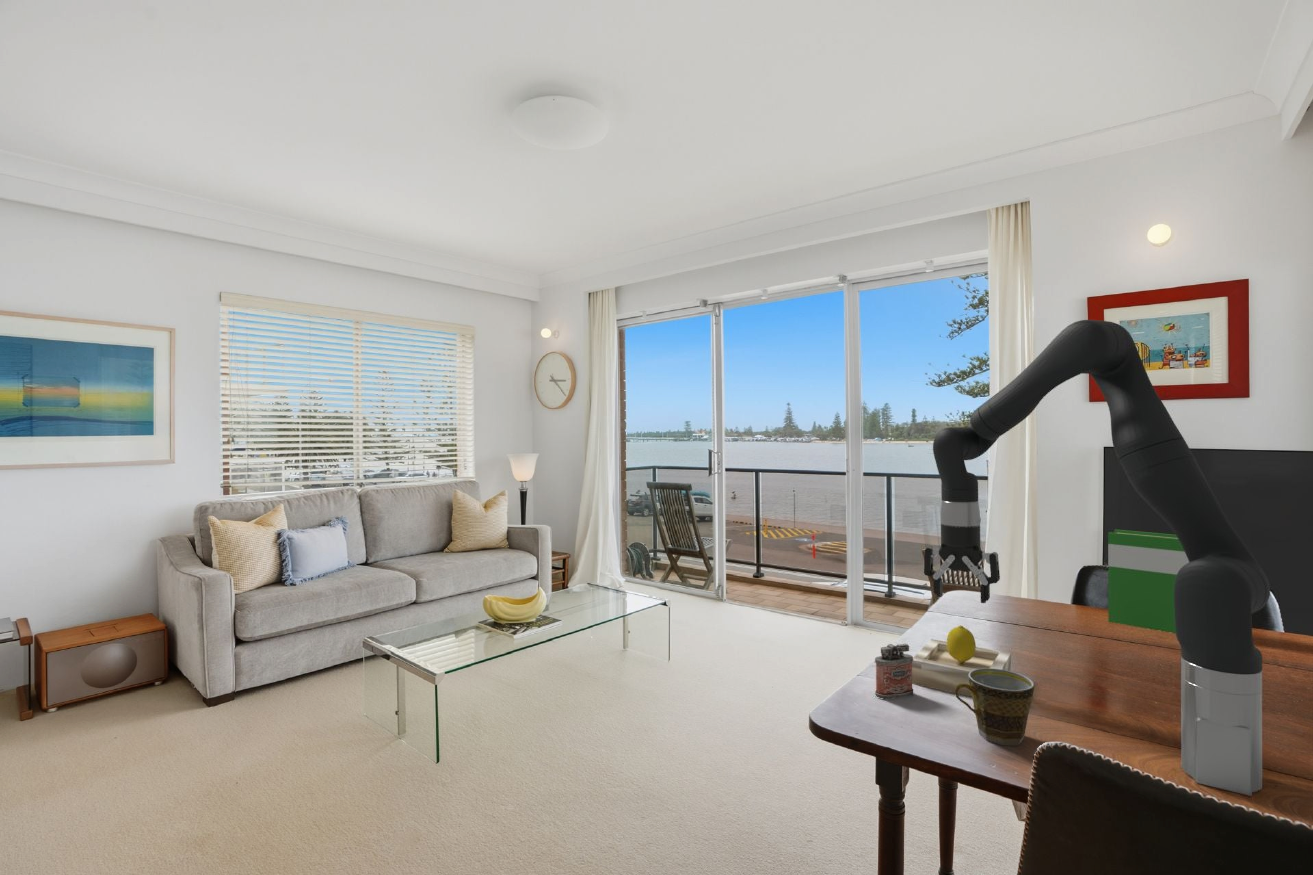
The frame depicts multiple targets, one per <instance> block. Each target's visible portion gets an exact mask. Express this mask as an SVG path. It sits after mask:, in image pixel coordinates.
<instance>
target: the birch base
mask: <svg viewBox="0 0 1313 875" xmlns="http://www.w3.org/2000/svg"><path fill="white" fill-rule="evenodd" d="M976 669H1001V670H1007V671H1011V672H1012V653H1011V652H1006V651H1002V650H1000V651H999V650H995V649H990V648H983V647H979V646H976V650H975V654H974V656H973V657H972V658H971V659H970V660H968V661H965V662H964V663H963V664H961V663H959V662H958V661H957V660H956V659H954V658H953V657H952V656H951V655H950V654H949V652H948V649H947V641H945V640H944V641H943V640H939V639H933V638H931V639H930V640H929V641H928V642H927V643H926V644H925V645H924V646H923V647H922V649H920V650H919V651H918V652H917V653H916V654H915V655H914V656H913V662H912V685H918V686H923V687H927V688H930V689H935V688H936V689H935V690H940V691H944V692H945V691H946V692H950V693H954V694H955V688H956V686H957V685H958V684H960V683H966V684H968V685H970V684H969V677H968V675H969V673H970V672H971V671H973V670H976ZM958 695H963V696H967V697H971V698H972V694H971V692H970V690H969V689H968V688H965V687H963V688H960V689H959V690H958Z"/></svg>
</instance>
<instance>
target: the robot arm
mask: <svg viewBox="0 0 1313 875" xmlns="http://www.w3.org/2000/svg"><path fill="white" fill-rule="evenodd" d="M1082 374H1086V375H1087V374H1089V375H1090V376H1091V378H1092V379H1093V380H1094V382H1095V384H1097V386H1098V388H1099V390H1100V392H1101V393H1102V395H1103V397H1104V399H1105V402H1106V403H1107V406H1108V410H1109V411H1108V412H1109V418H1110V430H1111V440H1112V445H1113V450H1114V452H1115V455H1116V457H1117V459H1118V461H1119V463H1120V465H1121V467H1122V469H1123V471H1124V473H1125V475H1126V477H1127V479H1128V481H1129V482H1130V484H1131V485H1132V487H1133V489H1134V490H1135V491H1136V493H1137V494H1138V495H1139V496H1140V497H1141V498H1142V499H1143V500H1144V501H1145V502H1146V504H1147V505H1149V507H1150V508H1152V510H1153V511H1154V512H1156V514H1157V515H1158V516H1160V517H1161V519H1162V520H1163V521H1164V522H1165V523H1166V524H1167V525H1168V526H1169V528H1170V529H1171V530H1172V532H1173V533H1174V535H1176V536H1177V538H1178V540H1179V541H1180V543H1181V545H1182V547H1183V549H1184V551H1185V553H1186V556H1187V558H1188V560H1189V563H1187V564H1186V565H1184V566H1183V567H1182V568H1181V569H1180V570H1179V572H1178V573H1177V576H1176V578H1175V583H1174V614H1175V631H1176V634H1175V636H1176V639H1177V642H1178V643H1179V645H1180V652H1181V653H1180V661H1181V662H1180V667H1181V668H1180V669H1181V671H1180V672H1181V673H1180V687H1181V688H1180V709H1181V710H1180V711H1181V713H1180V729H1181V730H1180V736H1181V737H1180V742H1181V744H1180V746H1181V748H1180V749H1181V750H1180V752H1181V753H1180V754H1181V763H1180V764H1181V769H1182V770H1183V771H1184V772H1185V774H1187V775H1189V777H1192V779H1194V781H1195V783H1197V784H1200V785H1205V786H1208V787H1211V788H1212V787H1213V788H1216V789H1220V790H1224V791H1229V792H1233V793H1237V794H1241V795H1245V796H1249V797H1251V796H1253V793H1256V792H1259V791H1260V790H1262V788H1263V655H1262V652H1261V650H1260V649H1259V648H1258V647H1257V646H1255V644H1254V640H1253V620H1252V619H1253V618H1252V617H1253V616H1252V614H1254V613H1256V612H1259V611H1260V610H1261V609H1263V608H1264V607H1265V606H1266V604H1267V603H1268V601H1269V599H1270V596H1271V588H1270V587H1271V586H1270V582H1269V579H1268V577H1267V575H1266V573H1265V571H1264V570H1263V568H1262V567H1261V565H1260V564H1259V563H1258V561H1257V560H1256V559H1255V557H1254V555H1253V554H1252V553H1251V552H1250V550H1249V549H1248V547H1247V546H1246V545H1245V543H1244V542H1243V540H1242V539H1241V538H1240V536H1239V535H1238V533H1237V532H1236V530H1234V528H1233V526H1232V524H1231V523H1230V522H1229V521H1228V519H1227V517H1226V515H1225V513H1224V511H1223V510H1222V507H1221V506H1220V504H1219V501H1218V498H1216V496H1215V494H1214V492H1213V490H1212V487H1211V486H1210V485H1209V483H1208V480H1207V479H1206V477H1205V475H1204V473H1203V472H1202V470H1201V468H1200V466H1199V464H1198V462H1197V460H1196V458H1195V456H1194V454H1193V453H1192V450H1191V449H1190V447H1189V444H1188V443H1187V441H1186V439H1185V438H1184V436H1183V435H1182V433H1181V432H1180V430H1179V428H1178V427H1177V425H1176V424H1175V422H1174V420H1173V418H1172V417H1171V415H1170V413H1169V412H1168V409H1167V408H1166V406H1165V404H1164V402H1163V401H1162V399H1161V398H1160V396H1159V394H1158V393H1157V391H1156V390H1155V388H1154V386H1153V383H1152V381H1151V380H1150V378H1149V376H1148V373H1147V370H1146V368H1145V365H1144V362H1143V360H1142V358H1141V355H1140V353H1139V350H1138V348H1137V345H1136V343H1135V341H1134V338H1133V337H1132V335H1131V334H1130V332H1129V331H1128V330H1127V329H1126V328H1125V327H1124V326H1122V325H1120V324H1119V323H1117V322H1113V321H1107V320H1099V319H1098V320H1097V319H1081V320H1077V321H1074V322H1073V323H1070V324H1068V325H1067V326H1066V327H1065V328H1063V330H1061V331H1060V332H1059V333H1058V334H1057V335H1056V336H1055V338H1053V339H1052V340H1051V341H1050V342H1049V344H1047V346H1046V347H1045V348H1044V349H1043V350H1042V351H1041V353H1039V354H1038V356H1037V357H1035V358H1034V360H1033V361H1032V362H1030V363H1029V365H1027V366H1026V368H1024V369H1023V371H1021V372H1020V373H1019V374H1018V375H1017V376H1016V377H1015V378H1014V379H1013V380H1012V381H1010V382H1009V383H1008V384H1007V385H1005V387H1003V388H1002V389H1001V390H999V391H998V392H996V393H995V394H994V395H993V396H991V397H990V398H989V399H987V400H985V402H983V403H982V404H981V405H980V406H978V407H977V408H976V409H975V410H974V411H973V412H972V413H971V415H970V418H969V422H970V423H968V424H967V425H965V426H960V427H957V426H955V427H954V426H953V427H945V428H941V429H940V430H939V431H938V432H937V433H936V434H935V436H934V439H933V442H932V451H933V457H934V461H935V464H936V468H937V472H938V475H939V478H940V480H941V489H940V490H941V497H940V498H941V506H940V514H939V515H940V547H939V548H935V547H933V546H932V545H931V546H928V547H926V548H925V549H924V565H923V574H924V575H925V576H928V577H930V578H932V580H933V594H934V595H936V597H937V598H943V594H944V592H943V588H944V587H943V581H944V580H943V578H942V577H943V575H944V574H945V573H946V571H948V570H949V569H950V571H954V572H957V571H960V572H961V571H962V572H964V573H969V572H971V573H972V574H973V575H974V577H976V578H977V579H978V581H979V582H980V583H981V584H980V603H981V604H986V603H987V601H989V600H990V597H991V588H990V587H991V586H990V585H992V584H997V583H998V582H999V581H1000V580H1001V575H1000V574H1001V573H1000V563H999V554H998V553H997V552H996V551H993V552H983V551H982V548H981V523H982V522H981V519H982V518H981V511H980V504H979V480H978V477H977V476H976V475H975V474H974V473H973V472H968V470H967V467H966V463H965V461H972V460H975V459H978V458H979V457H981V456H982V455H984V454H985V453H986V452H987V451H988V450H989V449H990V448H991V447H992V446H993V445H994V444H995V443H996V442H997V440H998V439H999V438H1000V437H1001V436H1002V435H1005V434H1006V433H1008V432H1009V431H1011V430H1012V429H1013V428H1014V427H1016V426H1018V425H1019V424H1020V423H1022V422H1023V421H1024V420H1025V419H1026V418H1028V416H1030V415H1031V414H1032V413H1033V411H1034V410H1035V409H1036V407H1037V406H1038V405H1039V404H1040V403H1041V401H1042V400H1043V399H1044V398H1045V397H1046V396H1047V394H1049V393H1050V392H1051V391H1052V390H1054V389H1056V388H1057V387H1058V386H1059V385H1062V384H1064V383H1065V382H1068V381H1069V380H1070V379H1073V378H1075V377H1077V376H1079V375H1082ZM937 555H938V556H940V559H941V560H942V561H943V563H942V564H941V565H940V566H939V567H938V569H937V570H934V559H935V558H937ZM983 559H984V560H985V561H986V563H987V564H989V568H990V571H989V572H990V576H988V575H987V574H986V571H985V570H984V569H983V567H982V566H981V565H980V564H979V563H980V562H981V561H982V560H983ZM1258 790H1259V791H1258Z"/></svg>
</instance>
